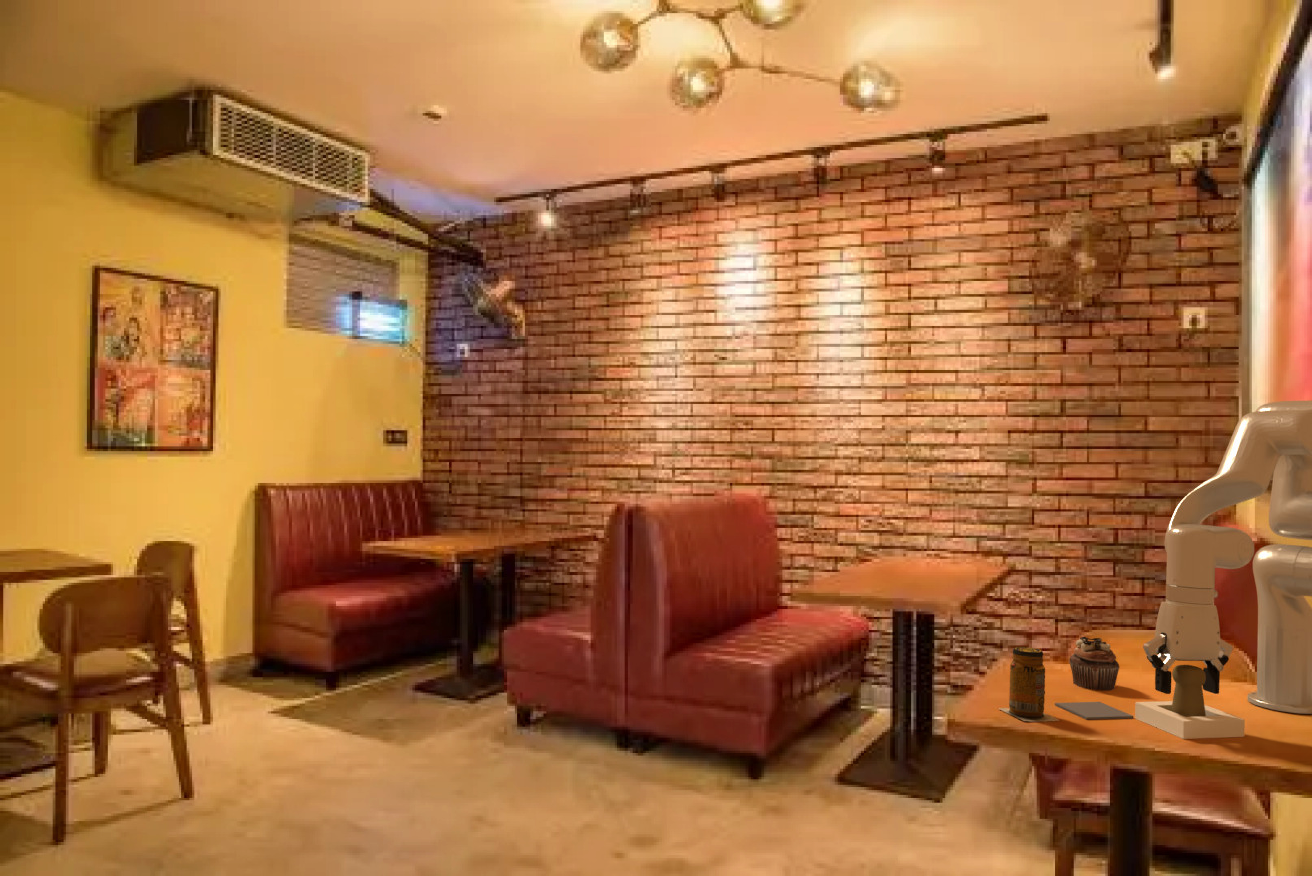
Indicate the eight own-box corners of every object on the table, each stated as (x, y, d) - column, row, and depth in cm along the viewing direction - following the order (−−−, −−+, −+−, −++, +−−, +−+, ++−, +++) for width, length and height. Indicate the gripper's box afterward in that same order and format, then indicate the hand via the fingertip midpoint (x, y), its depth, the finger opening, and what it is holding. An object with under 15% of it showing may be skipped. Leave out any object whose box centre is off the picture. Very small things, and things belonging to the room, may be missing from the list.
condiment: (1032, 708, 175) (1034, 645, 175) (1060, 721, 167) (1061, 655, 167) (997, 709, 174) (999, 645, 174) (1023, 722, 165) (1025, 655, 165)
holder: (1192, 716, 172) (1192, 700, 172) (1244, 736, 160) (1244, 719, 160) (1135, 718, 169) (1135, 702, 170) (1183, 738, 158) (1183, 721, 158)
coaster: (1099, 703, 179) (1099, 701, 179) (1133, 718, 170) (1133, 715, 170) (1054, 704, 177) (1054, 702, 177) (1086, 719, 168) (1086, 717, 168)
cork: (1213, 733, 161) (1214, 670, 161) (1175, 730, 162) (1176, 668, 162) (1200, 723, 167) (1201, 663, 167) (1163, 721, 168) (1164, 660, 168)
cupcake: (1128, 692, 189) (1128, 643, 189) (1080, 690, 189) (1081, 642, 189) (1106, 680, 198) (1107, 634, 198) (1061, 679, 198) (1061, 632, 199)
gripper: (1215, 593, 170) (1213, 686, 170) (1132, 592, 167) (1129, 686, 167) (1248, 600, 163) (1246, 697, 162) (1162, 598, 160) (1159, 697, 159)
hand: (1186, 691), depth 164 cm, fingers open, 9 cm apart
